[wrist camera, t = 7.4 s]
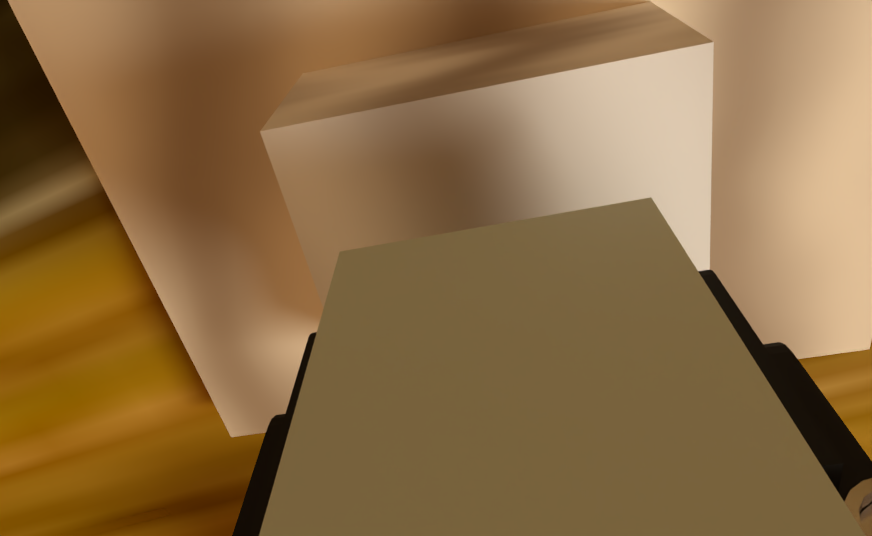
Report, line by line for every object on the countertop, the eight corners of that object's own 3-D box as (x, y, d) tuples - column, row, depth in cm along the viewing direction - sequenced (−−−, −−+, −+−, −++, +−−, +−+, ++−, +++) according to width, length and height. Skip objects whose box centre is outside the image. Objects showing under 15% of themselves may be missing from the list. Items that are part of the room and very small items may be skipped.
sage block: (650, 197, 10) (865, 537, 5) (659, 428, 13) (807, 812, 7) (340, 251, 11) (238, 606, 5) (407, 461, 13) (383, 838, 8)
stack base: (924, -226, 13) (1185, -281, 9) (843, 319, 20) (961, 452, 16) (40, -17, 16) (-135, 30, 11) (243, 405, 23) (189, 544, 18)
